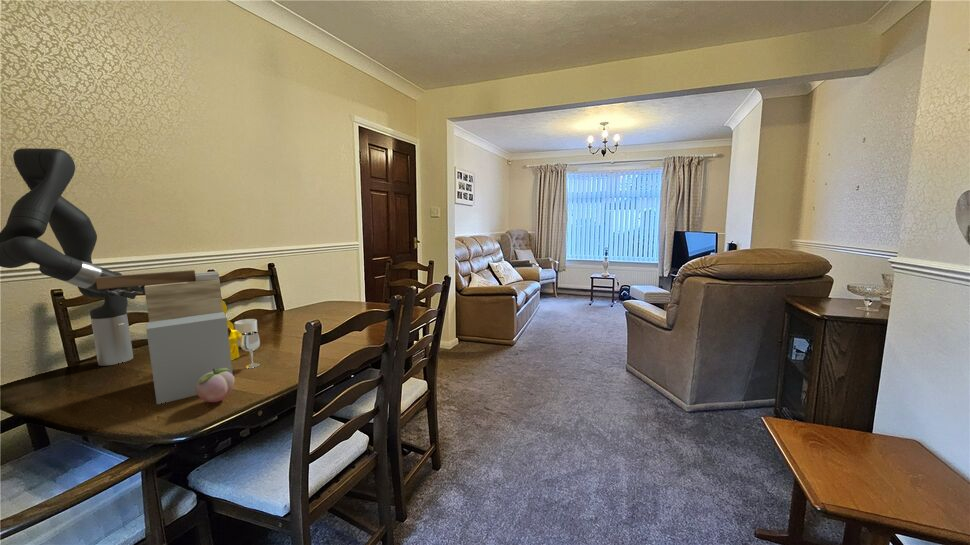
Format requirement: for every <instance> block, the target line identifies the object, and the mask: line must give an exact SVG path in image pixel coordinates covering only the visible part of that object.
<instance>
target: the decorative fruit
mask: <svg viewBox="0 0 970 545" xmlns="http://www.w3.org/2000/svg"><path fill="white" fill-rule="evenodd" d="M226 370H230V369H228V368H220V369H217V370H215V369H213V372H209V373H207V374H205V375H203V376H202V377H201V378H200V379H199V380H198V381H197V383H196V387H195V389H196V392H197V394H198V395H197V396H198V397H199V398H200V399H201V400H203V401H205V402H206V403H207V402H208V403H219V402H220V401H221V402H222V400H224V399H225V398H226V397H227V396H228V395H229V394H230V393H231V392H232V390H233V387H235V383H236V378H235V376H234V374H233V375H232V374H231V373H230V372H227V371H226Z"/></svg>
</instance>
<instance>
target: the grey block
mask: <svg viewBox="0 0 970 545" xmlns="http://www.w3.org/2000/svg"><path fill="white" fill-rule="evenodd" d="M227 319H228V318H227V314H226V315H225V313H224V312H220V313H213V314H205V315H198V316H190V317H182V318H175V319H167V320H160V321H152V322H149V321H147V325H146V328H145V329H146V336H147V337H146V338H147V343H148V350H149V351H148V352H149V358H150V365H151V372H152V379H153V385H154V386H153V388H154V393H155V394H154V395H155V399H156V400H155V401H156V405H157V404H158V405H161V403H162V404H166V403H169V402H174V401H178V400H182V399H186V398H191V397H195V396H198V394H197V392H196V389H195V387H196V383H197V381H198V380H199V379H200V378H201V377H202V376H203V375H205V374H207V373H209V372H213V369H215V370H217V369H220V368H228V369H230V370H226V371H227V372H230V373H231V374H232V375H233V376H234V374H233V365H232V364H233V363H232V361H231V354H230V345H229V336H228V326H227ZM165 402H166V403H165Z"/></svg>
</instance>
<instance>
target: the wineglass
mask: <svg viewBox="0 0 970 545" xmlns="http://www.w3.org/2000/svg"><path fill="white" fill-rule="evenodd" d="M260 345H261V339H260V335H259V333H258V331H257V332H255V331H252V332H246V333H243V334H242V335H241V347H240V348H241V349H242V350H243V351H245V352H249V356H250V361H251V363H250V364H247V365H245V366H244V367H245V369H248V368H249V369H255V368H258V367H259V365H261V364H260V363H258V362H257V363H255V362H254V359H253V357H254V352H253V351H256V350H257V349H258V348H259V347H260ZM257 366H258V367H257ZM254 367H255V368H254Z"/></svg>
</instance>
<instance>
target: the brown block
mask: <svg viewBox="0 0 970 545" xmlns="http://www.w3.org/2000/svg"><path fill="white" fill-rule="evenodd" d="M212 280H220V274H219V272H218V271H217V270H215V271H203V272H201V271H200V272H196V271H195V269H193V270H192V269H191V270H177V271H176V270H175V271H163V272H150V273H149V272H148V273H135V274H122V275H117V276H103V277H97V278H96V283H97V289H107V288H119V287H131V286H143V285H154V284H166V283H178V282H189V281H196V282H201V281H212Z"/></svg>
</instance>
